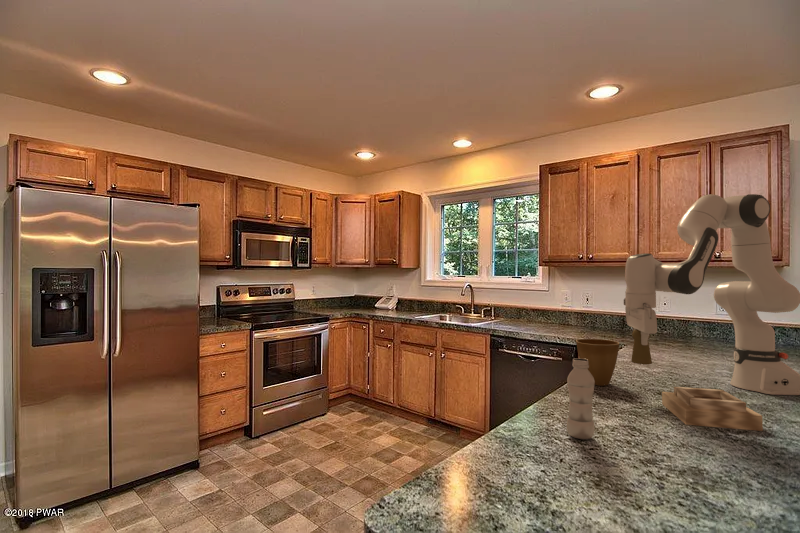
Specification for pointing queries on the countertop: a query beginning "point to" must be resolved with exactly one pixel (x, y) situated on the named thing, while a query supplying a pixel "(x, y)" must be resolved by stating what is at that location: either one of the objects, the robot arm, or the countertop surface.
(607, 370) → the plant pot
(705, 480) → the countertop surface
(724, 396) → the display stand
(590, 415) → the plastic bottle
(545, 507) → the countertop surface
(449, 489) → the countertop surface
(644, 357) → the cork
